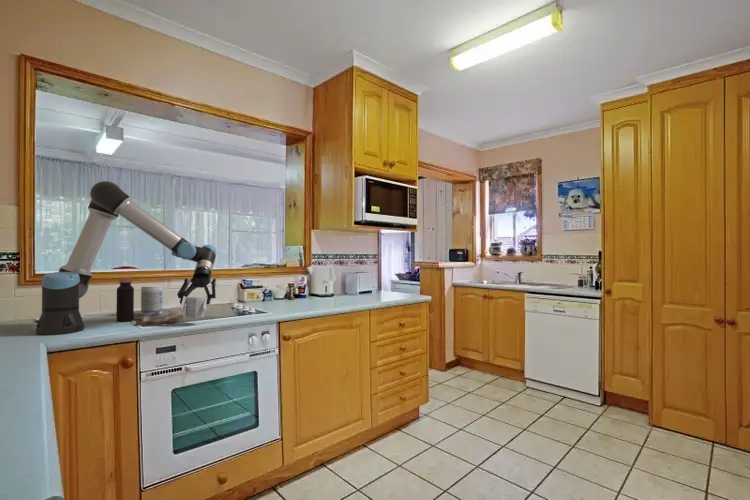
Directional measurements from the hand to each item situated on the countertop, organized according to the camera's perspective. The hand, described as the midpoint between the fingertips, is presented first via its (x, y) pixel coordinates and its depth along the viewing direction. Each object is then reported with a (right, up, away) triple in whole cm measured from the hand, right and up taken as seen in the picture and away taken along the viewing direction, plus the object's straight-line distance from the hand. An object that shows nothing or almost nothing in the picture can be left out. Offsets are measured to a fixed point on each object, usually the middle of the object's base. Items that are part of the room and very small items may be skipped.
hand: (192, 309), depth 170 cm
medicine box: (-1, -4, +3) cm, 5 cm away
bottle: (-37, -7, +11) cm, 39 cm away
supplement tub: (-35, -7, +29) cm, 46 cm away
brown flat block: (-19, -7, +9) cm, 22 cm away
